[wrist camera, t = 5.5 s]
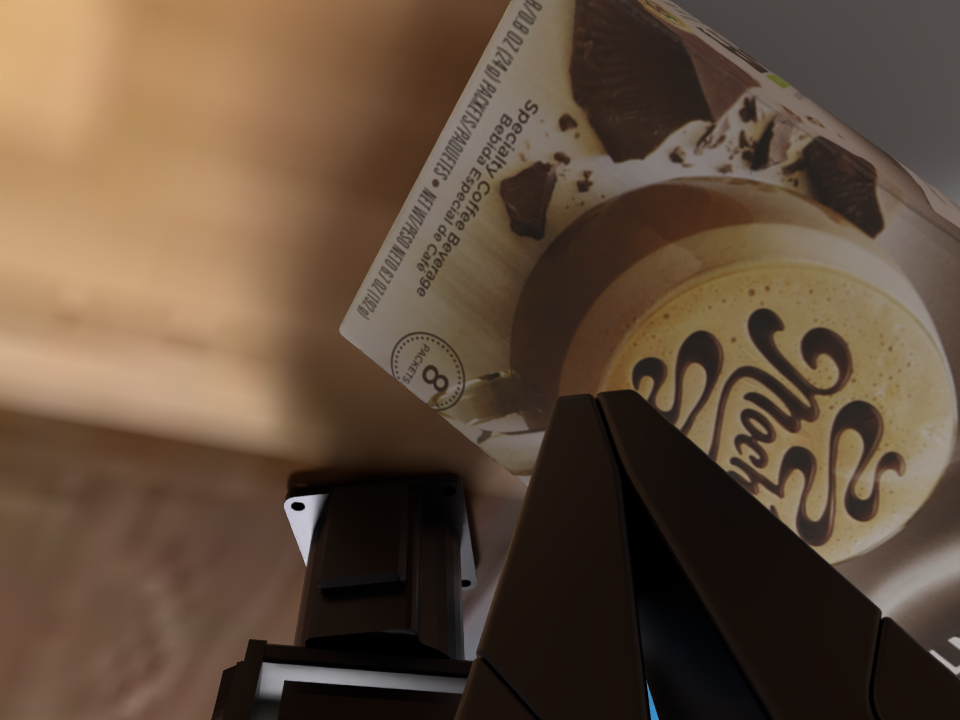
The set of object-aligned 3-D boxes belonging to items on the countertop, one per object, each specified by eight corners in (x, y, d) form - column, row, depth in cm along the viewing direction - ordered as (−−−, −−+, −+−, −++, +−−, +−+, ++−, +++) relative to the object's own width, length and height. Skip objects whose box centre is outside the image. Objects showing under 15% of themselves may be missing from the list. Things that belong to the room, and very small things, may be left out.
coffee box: (535, -76, 12) (1505, 590, 10) (631, -31, 17) (1264, 400, 15) (324, 340, 16) (945, 848, 14) (452, 271, 22) (915, 632, 20)
